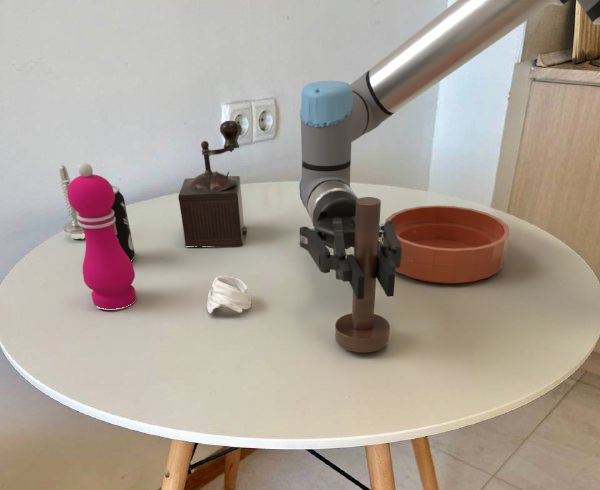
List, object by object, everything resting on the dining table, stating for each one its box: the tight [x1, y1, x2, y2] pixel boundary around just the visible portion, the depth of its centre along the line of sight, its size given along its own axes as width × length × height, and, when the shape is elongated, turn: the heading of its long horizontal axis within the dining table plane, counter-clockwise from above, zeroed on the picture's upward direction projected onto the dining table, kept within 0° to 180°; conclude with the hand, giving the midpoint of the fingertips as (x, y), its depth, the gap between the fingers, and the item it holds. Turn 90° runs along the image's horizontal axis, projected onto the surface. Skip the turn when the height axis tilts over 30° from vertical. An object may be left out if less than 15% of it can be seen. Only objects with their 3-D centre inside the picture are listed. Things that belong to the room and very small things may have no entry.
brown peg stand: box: [334, 196, 391, 353], centre depth 72 cm, size 7×7×18 cm
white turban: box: [206, 275, 252, 315], centre depth 86 cm, size 8×7×5 cm
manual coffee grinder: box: [178, 120, 248, 248], centre depth 106 cm, size 16×11×18 cm
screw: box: [58, 164, 84, 235], centre depth 106 cm, size 13×5×5 cm
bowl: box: [384, 205, 511, 284], centre depth 97 cm, size 20×20×6 cm
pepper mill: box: [67, 162, 137, 309], centre depth 83 cm, size 7×7×20 cm
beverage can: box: [111, 184, 136, 262], centre depth 97 cm, size 7×7×12 cm
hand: (376, 286), depth 67 cm, fingers closed on brown peg stand, 3 cm apart
